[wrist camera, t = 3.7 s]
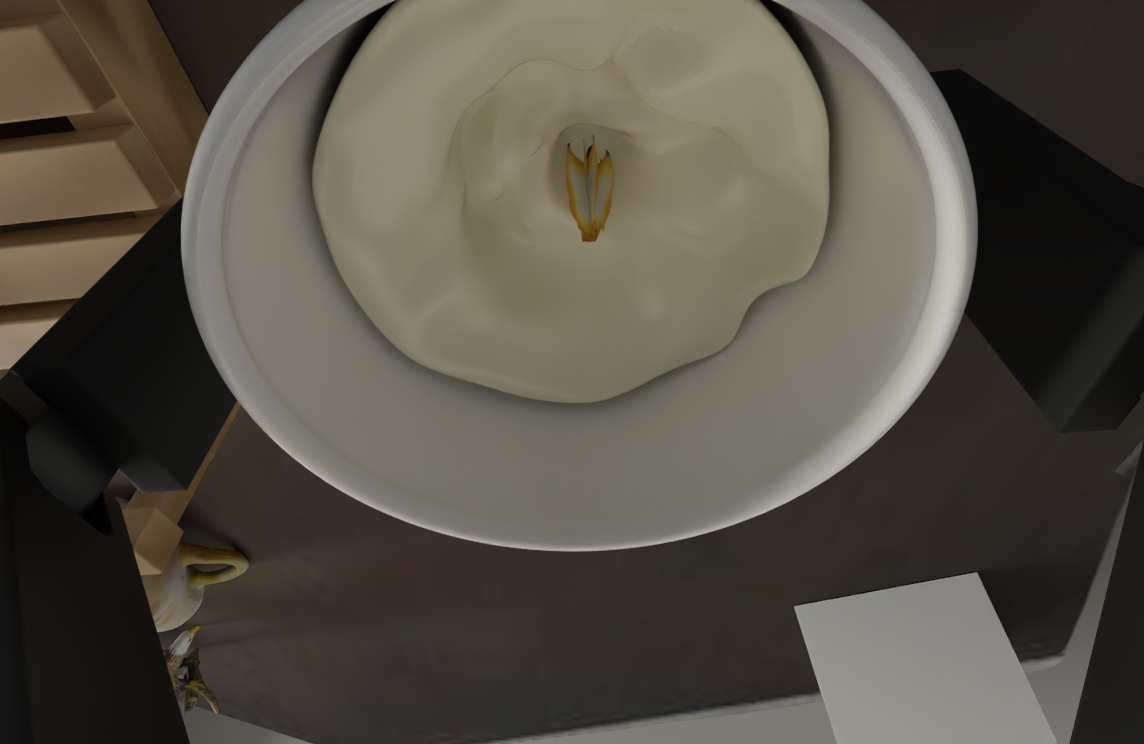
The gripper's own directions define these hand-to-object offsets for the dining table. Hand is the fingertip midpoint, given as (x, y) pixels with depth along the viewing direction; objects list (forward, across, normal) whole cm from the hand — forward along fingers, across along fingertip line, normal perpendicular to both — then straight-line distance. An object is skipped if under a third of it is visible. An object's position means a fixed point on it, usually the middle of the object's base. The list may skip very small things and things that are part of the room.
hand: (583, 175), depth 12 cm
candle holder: (+6, 0, 0) cm, 6 cm away
